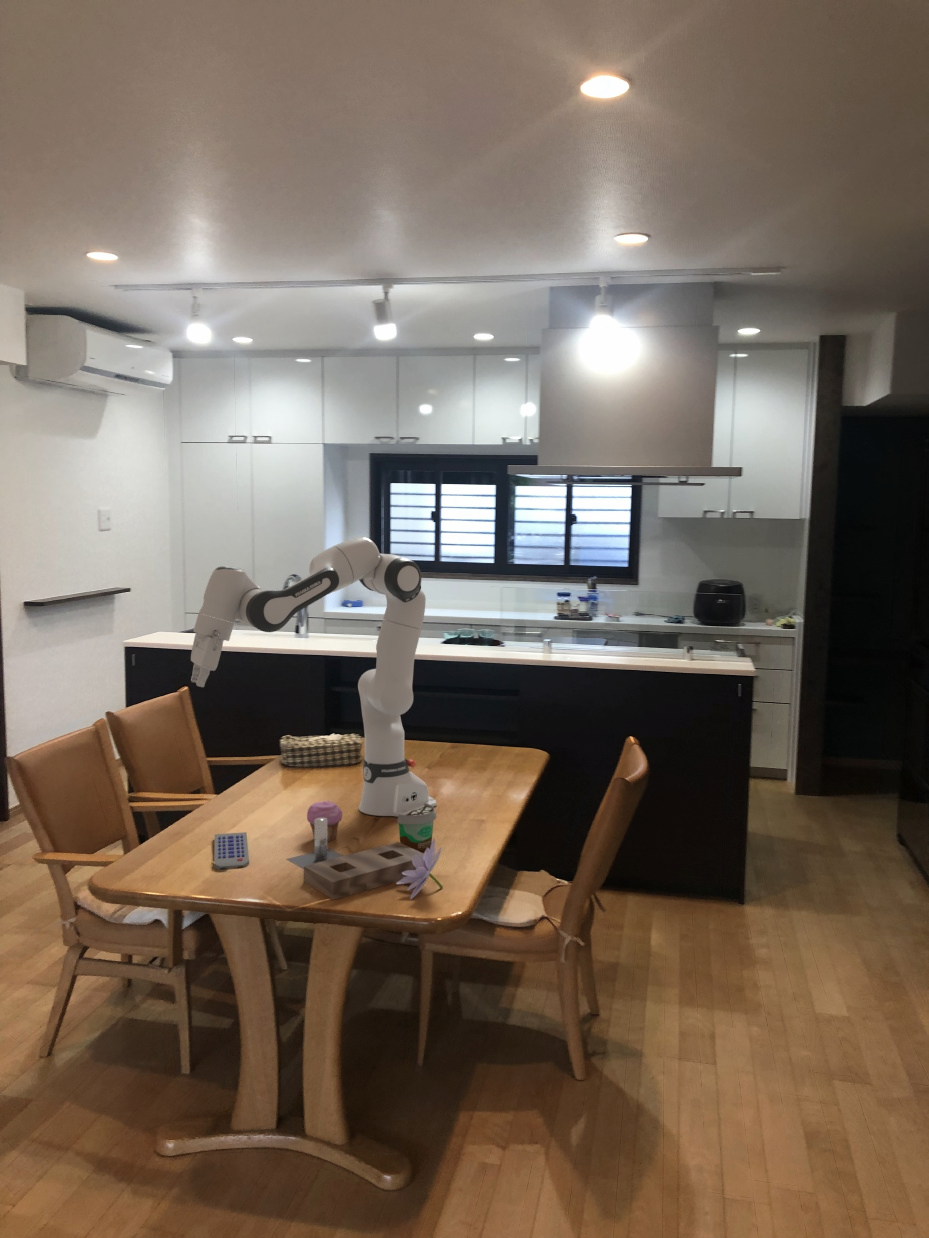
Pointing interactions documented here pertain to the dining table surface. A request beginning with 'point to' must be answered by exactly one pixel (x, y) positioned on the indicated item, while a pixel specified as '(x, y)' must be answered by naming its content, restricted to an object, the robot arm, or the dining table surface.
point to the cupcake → (328, 812)
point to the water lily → (421, 870)
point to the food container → (417, 828)
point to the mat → (311, 858)
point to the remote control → (230, 851)
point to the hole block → (360, 870)
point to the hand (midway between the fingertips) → (196, 684)
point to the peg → (320, 839)
